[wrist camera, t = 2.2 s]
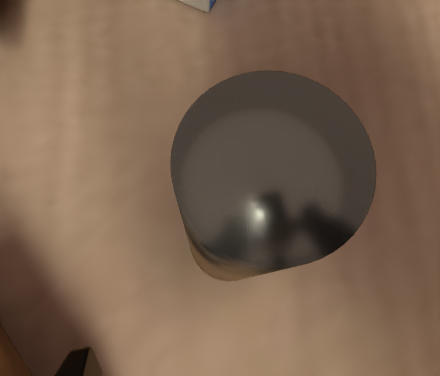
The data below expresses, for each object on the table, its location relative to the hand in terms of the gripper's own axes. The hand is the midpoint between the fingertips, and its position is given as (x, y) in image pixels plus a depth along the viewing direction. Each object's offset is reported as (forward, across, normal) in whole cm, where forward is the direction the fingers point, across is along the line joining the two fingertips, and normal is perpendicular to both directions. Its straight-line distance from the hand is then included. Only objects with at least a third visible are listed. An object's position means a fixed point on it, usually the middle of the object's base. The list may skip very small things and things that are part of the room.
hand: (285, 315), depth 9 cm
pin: (+9, 0, +5) cm, 11 cm away
